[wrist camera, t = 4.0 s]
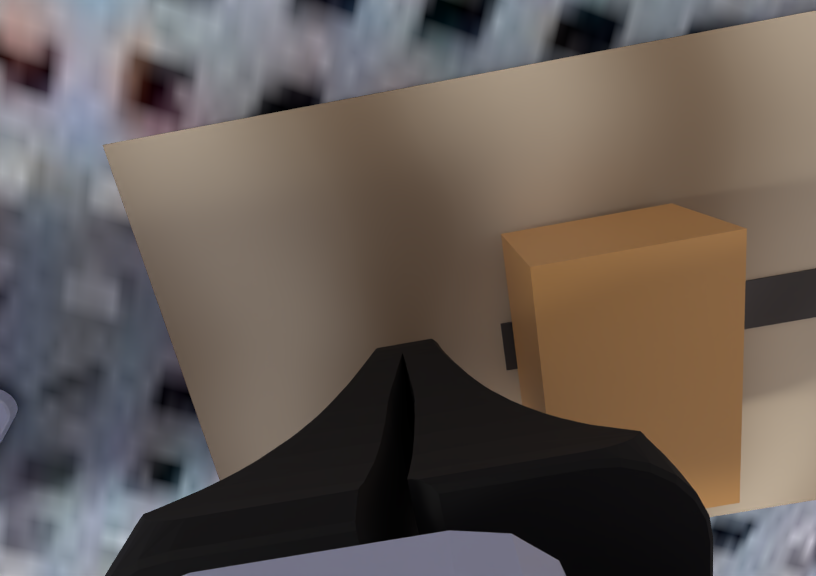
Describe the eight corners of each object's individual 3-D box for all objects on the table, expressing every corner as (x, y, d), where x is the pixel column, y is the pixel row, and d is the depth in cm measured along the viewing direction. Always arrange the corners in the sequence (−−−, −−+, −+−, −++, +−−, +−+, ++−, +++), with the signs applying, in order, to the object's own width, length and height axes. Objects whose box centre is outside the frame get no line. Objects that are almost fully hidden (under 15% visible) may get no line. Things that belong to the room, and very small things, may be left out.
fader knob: (528, 455, 13) (558, 532, 11) (501, 233, 11) (529, 266, 9) (676, 430, 13) (739, 503, 11) (671, 203, 11) (746, 228, 9)
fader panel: (273, 535, 17) (258, 592, 15) (145, 139, 13) (101, 145, 11) (995, 415, 16) (1079, 458, 14) (1086, -38, 12) (1219, -66, 10)
